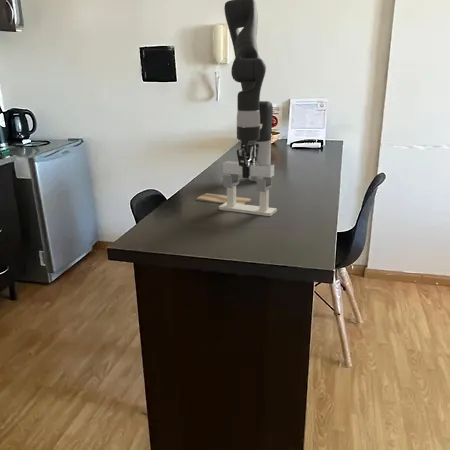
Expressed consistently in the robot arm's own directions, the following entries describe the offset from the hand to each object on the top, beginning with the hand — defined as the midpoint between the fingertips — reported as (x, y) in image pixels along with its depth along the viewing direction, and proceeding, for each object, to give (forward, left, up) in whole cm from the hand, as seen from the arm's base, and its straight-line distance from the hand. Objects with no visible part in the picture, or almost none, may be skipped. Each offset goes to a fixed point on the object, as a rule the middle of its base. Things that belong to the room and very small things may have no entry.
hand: (248, 176), depth 151 cm
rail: (0, 0, +1) cm, 1 cm away
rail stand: (0, 0, -12) cm, 12 cm away
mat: (-8, -13, -12) cm, 19 cm away
